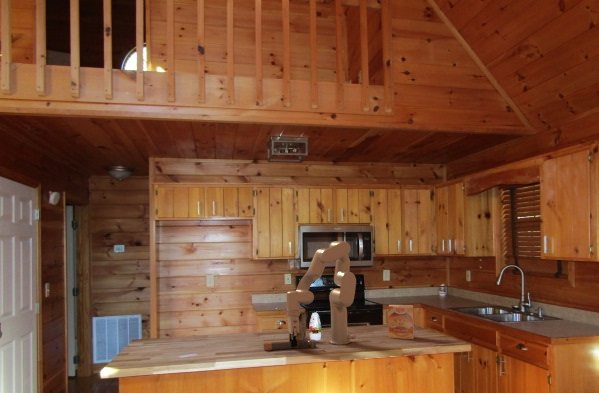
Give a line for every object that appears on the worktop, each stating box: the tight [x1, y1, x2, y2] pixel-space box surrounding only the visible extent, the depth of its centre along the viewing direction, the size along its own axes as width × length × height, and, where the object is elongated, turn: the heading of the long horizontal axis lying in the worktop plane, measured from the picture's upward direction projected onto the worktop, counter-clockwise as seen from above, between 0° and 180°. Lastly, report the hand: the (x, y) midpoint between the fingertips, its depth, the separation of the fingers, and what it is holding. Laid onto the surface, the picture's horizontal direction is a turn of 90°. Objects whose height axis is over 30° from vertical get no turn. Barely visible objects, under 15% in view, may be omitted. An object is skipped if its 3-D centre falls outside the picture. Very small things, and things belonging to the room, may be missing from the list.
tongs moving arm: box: [263, 339, 313, 351], centre depth 254 cm, size 27×2×4 cm, turn 102°
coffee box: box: [288, 311, 307, 341], centre depth 279 cm, size 9×6×16 cm
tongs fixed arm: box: [265, 339, 317, 349], centre depth 256 cm, size 30×4×4 cm, turn 103°
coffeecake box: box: [387, 304, 415, 340], centre depth 280 cm, size 15×7×20 cm, turn 73°
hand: (293, 345), depth 256 cm, fingers open, 4 cm apart
